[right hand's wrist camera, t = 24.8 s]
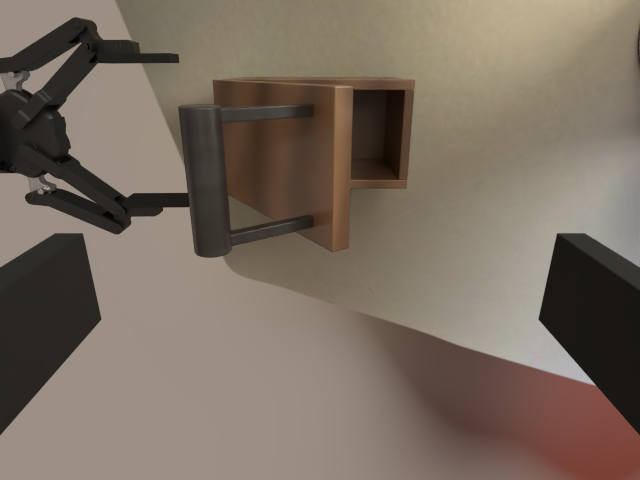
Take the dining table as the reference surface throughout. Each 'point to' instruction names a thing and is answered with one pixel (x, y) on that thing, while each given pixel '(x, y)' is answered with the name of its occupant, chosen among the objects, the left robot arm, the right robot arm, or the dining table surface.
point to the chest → (373, 127)
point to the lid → (269, 162)
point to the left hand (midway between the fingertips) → (183, 133)
